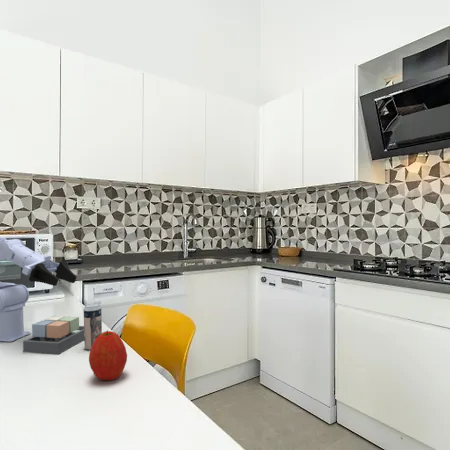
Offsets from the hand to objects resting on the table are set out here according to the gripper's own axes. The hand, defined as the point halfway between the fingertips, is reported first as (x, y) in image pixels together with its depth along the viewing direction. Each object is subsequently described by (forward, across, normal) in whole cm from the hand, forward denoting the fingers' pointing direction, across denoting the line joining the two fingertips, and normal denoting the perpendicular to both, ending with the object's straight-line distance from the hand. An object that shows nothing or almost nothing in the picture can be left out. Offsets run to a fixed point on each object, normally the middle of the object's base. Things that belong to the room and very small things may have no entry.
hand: (66, 281), depth 102 cm
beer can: (+17, 0, +13) cm, 21 cm away
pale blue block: (+2, -3, +15) cm, 16 cm away
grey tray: (+6, +1, +18) cm, 18 cm away
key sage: (+6, +2, +13) cm, 15 cm away
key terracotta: (+6, -3, +13) cm, 15 cm away
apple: (+30, -16, +8) cm, 35 cm away
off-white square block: (+2, +2, +15) cm, 15 cm away
